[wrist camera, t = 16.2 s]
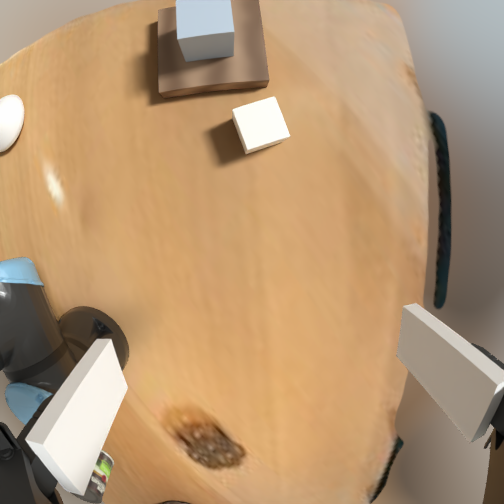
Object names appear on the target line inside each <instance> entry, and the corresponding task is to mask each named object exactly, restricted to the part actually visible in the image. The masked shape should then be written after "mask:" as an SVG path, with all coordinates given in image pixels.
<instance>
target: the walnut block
mask: <svg viewBox="0 0 504 504" xmlns="http://www.w3.org/2000/svg"><path fill="white" fill-rule="evenodd" d="M230 1H231V8H232V16H233V24H234V56H229V57H220V58H212V59H204V60H197V61H191V62H186V61H185V58H184V56H183V53H182V50H181V48H180V45H179V42H178V40H177V20H176V7H171V8H165V9H160V10H158V82H159V93H160V94H161V96H162V97H163V98H170V97H176V96H182V95H189V94H196V93H204V92H212V91H221V90H232V89H244V88H260V87H267V85H268V82H269V74H268V65H267V57H266V50H265V42H264V35H263V27H262V20H261V13H260V6H259V0H230Z"/></svg>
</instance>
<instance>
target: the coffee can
mask: <svg viewBox="0 0 504 504" xmlns="http://www.w3.org/2000/svg"><path fill="white" fill-rule="evenodd" d="M113 465H114V461H113V459H112V458H111V456H110V455H109V454H107V453H106V452H105V451H103V450H102V449H101V452H100V454H99V457H98V459H97V462H96V464H95V467H94V470H93V472H92V475H91V477H90V480H89V483H88V485H87V488H86V491H85V494H84V496H83V495H79V494H75V493H72V494H74V495H75V496H76V497H78V498H80V499H82V500H84V501H87V502H90V503H101V502H102V496H103V493H104V491H105V487H106V484H107V481H108V478H109V475H110V473H111V470H112V467H113ZM70 493H71V492H70Z"/></svg>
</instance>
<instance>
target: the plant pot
mask: <svg viewBox="0 0 504 504" xmlns="http://www.w3.org/2000/svg"><path fill="white" fill-rule="evenodd" d="M163 504H189V503H185V502H184V503H180V502H178V501H169V502H165V503H163Z"/></svg>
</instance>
